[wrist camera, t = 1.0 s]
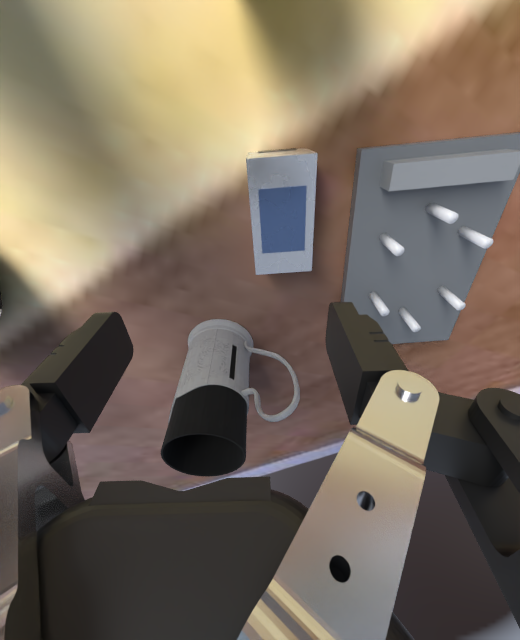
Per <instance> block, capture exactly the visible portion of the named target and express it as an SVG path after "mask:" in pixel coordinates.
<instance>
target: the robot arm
mask: <svg viewBox="0 0 520 640" xmlns="http://www.w3.org/2000/svg"><path fill="white" fill-rule="evenodd" d="M326 348H327V353H328V356H329V359H330V362H331V365H332V368H333V372H334V375H335V378H336V381H337V384H338V387H339V390H340V393H341V397H342V400H343V403H344V406H345V409H346V412H347V415H348V419H349V422H350V425H355V424H357V426H356V428H352V429H351V430H350V432H349V434H348V435H347V437H346V439H345V441H344V443H343V445H342V447H341V449H340V451H339V453H338V455H337V456H336V458H335V460H334V462H333V464H332V466H331V468H330V470H329V472H328V474H327V476H326V478H325V480H324V481H323V483H322V486H321V487H320V489H319V491H318V493H317V495H316V497H315V499H314V501H313V503H312V504H311V506H310V508H309V509H308V508H307V507H305V506H304V505H302V504H301V503H300V502H298V501H297V500H295V499H293V498H292V497H290V496H288V495H285V494H283V493H281V492H278V491H274V490H271V488H270V477H244V478H226V479H223V480H219V481H216V482H213V483H210V484H206V485H203V486H200V487H196V488H193V489H190V490H187V491H176V490H173V489H169V488H166V487H162V486H159V485H155V484H152V483H148V482H145V481H110V482H100V483H99V485H98V488H97V490H96V492H95V494H94V496H93V497H92V498H89V499H87V500H84V498H83V495H82V492H81V487H80V482H79V477H78V471H77V466H76V461H75V455H74V450H73V446H72V443H71V442H70V441H69V439H70V437H71V436H72V434H73V433H90V431H91V429H92V428H93V426H94V424H95V422H96V421H97V419H98V417H99V415H100V414H101V412H102V410H103V408H104V407H105V405H106V403H107V401H108V400H109V398H110V396H111V394H112V393H113V391H114V389H115V387H116V386H117V384H118V382H119V380H120V379H121V377H122V375H123V373H124V372H125V370H126V368H127V366H128V365H129V363H130V361H131V359H132V356H133V344H132V342H131V339H130V337H129V334H128V332H127V329H126V327H125V325H124V322H123V320H122V317H121V316H120V314H119V313H117V312H106V313H95V314H93V315H92V316H91V317H90V318H89V319H88V320H87V321H86V323H85V324H84V325H83V326H82V327H80V328H79V329H77V330H76V331H74V332H73V333H71V334H69V335H68V336H67V337H66V338H65V339H64V340H63V341H62V342H61V343H60V344H59V347H57V348H56V349H55V350H54V351H53V352H52V353H51V355H49V356H48V357H47V358H46V359H45V360H44V361H43V362H42V363H41V364H40V365H39V366H38V367H37V368H36V370H35V371H34V372H33V373H32V374H31V375H30V376H29V377H28V378H27V379H26V380H25V381H24V382H23V383H22V384H21V385H13V386H8V387H4V388H2V389H0V640H414V638H413V637H412V636H411V635H410V633H409V632H408V631H407V630H406V628H405V627H404V626H403V625H402V623H401V622H400V621H399V619H398V618H397V617H396V616H395V614H394V613H393V612H392V611H393V607H394V603H395V598H396V594H397V590H398V586H399V581H400V578H401V574H402V569H403V566H404V561H405V557H406V553H407V549H408V545H409V541H410V537H411V532H412V528H413V524H414V520H415V516H416V512H417V508H418V504H419V499H420V495H421V491H422V487H423V483H424V478H425V473H426V470H430V471H433V472H437V473H440V474H444V475H445V476H446V479H447V481H448V482H449V485H450V487H451V489H452V491H453V493H454V495H455V497H456V499H457V501H458V503H459V505H460V507H461V509H462V511H463V513H464V515H465V517H466V519H467V521H468V524H469V526H470V528H471V530H472V532H473V534H474V536H475V538H476V540H477V542H478V544H479V546H480V548H481V550H482V552H483V554H484V556H485V558H486V560H487V562H488V564H489V566H490V568H491V571H492V572H493V575H494V576H495V579H496V581H497V583H498V585H499V587H500V589H501V591H502V593H503V595H504V597H505V599H506V601H507V603H508V605H509V607H510V609H511V611H512V613H513V615H514V618H515V620H516V622H517V624H518V626H519V628H520V394H517V393H515V392H512V391H509V390H505V389H500V388H487V389H484V390H481V391H480V392H479V393H478V395H477V396H476V398H475V400H472V399H467V398H462V397H458V396H453V395H448V394H443V393H440V392H438V391H437V390H436V388H435V387H434V386H433V385H432V383H430V382H429V381H428V380H427V379H425V378H424V377H422V376H420V375H418V374H416V373H413V372H410V371H408V369H407V368H406V366H405V365H404V363H403V362H402V360H401V358H400V357H399V355H398V354H397V352H396V351H395V349H394V347H393V346H392V344H391V343H390V342H389V341H388V338H387V336H386V335H385V334H384V333H383V330H382V329H381V327H380V326H379V324H378V322H376V321H375V320H374V319H372V318H371V317H369V316H368V315H367V314H364V315H359V314H358V312H357V310H356V308H355V307H354V305H353V303H352V302H335V303H330V305H329V312H328V321H327V330H326Z"/></svg>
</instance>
